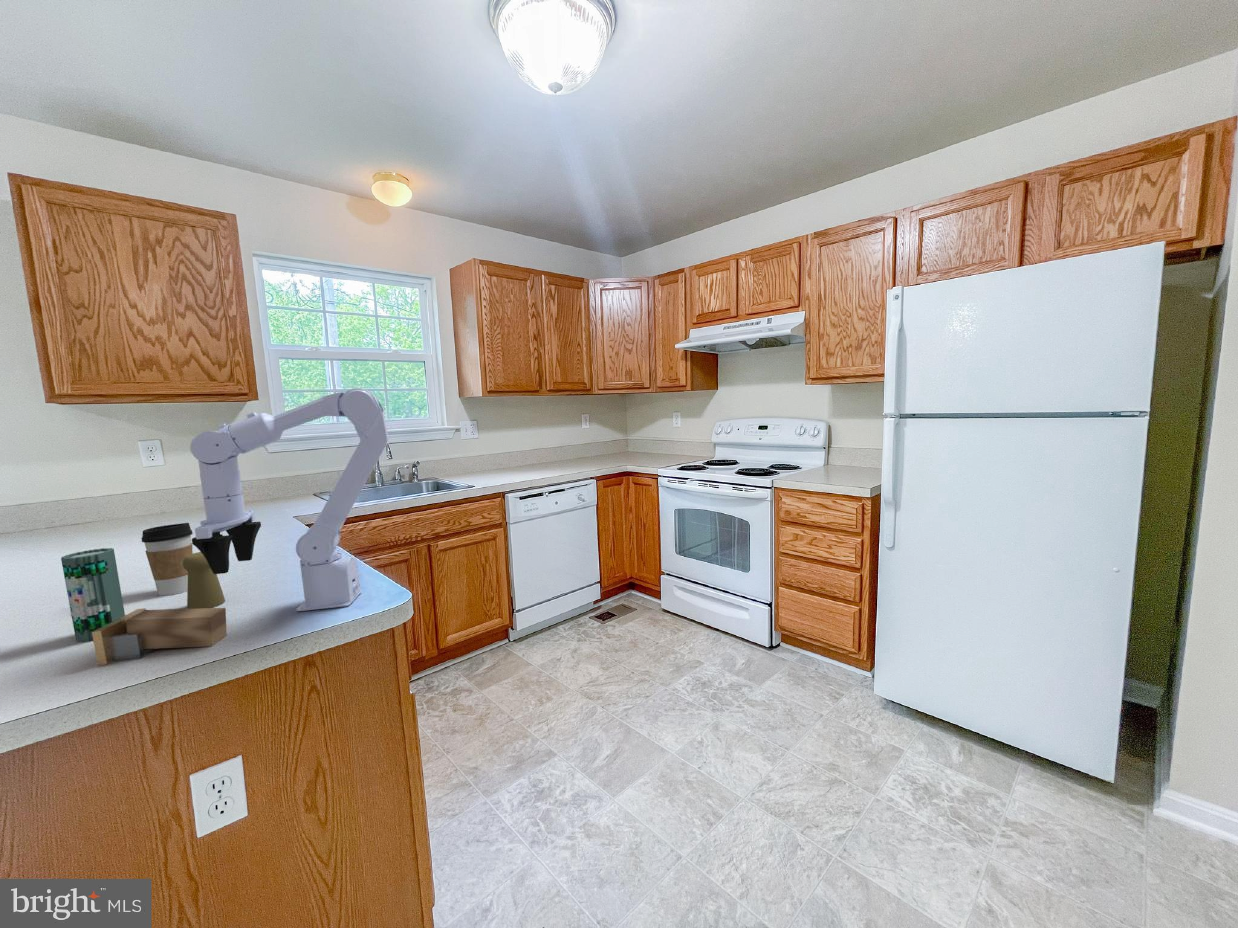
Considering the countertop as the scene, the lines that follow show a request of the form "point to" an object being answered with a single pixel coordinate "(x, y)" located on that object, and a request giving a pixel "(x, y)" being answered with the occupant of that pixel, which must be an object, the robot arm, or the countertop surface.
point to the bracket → (118, 641)
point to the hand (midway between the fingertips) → (233, 566)
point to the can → (92, 590)
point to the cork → (202, 583)
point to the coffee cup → (168, 556)
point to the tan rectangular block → (179, 627)
